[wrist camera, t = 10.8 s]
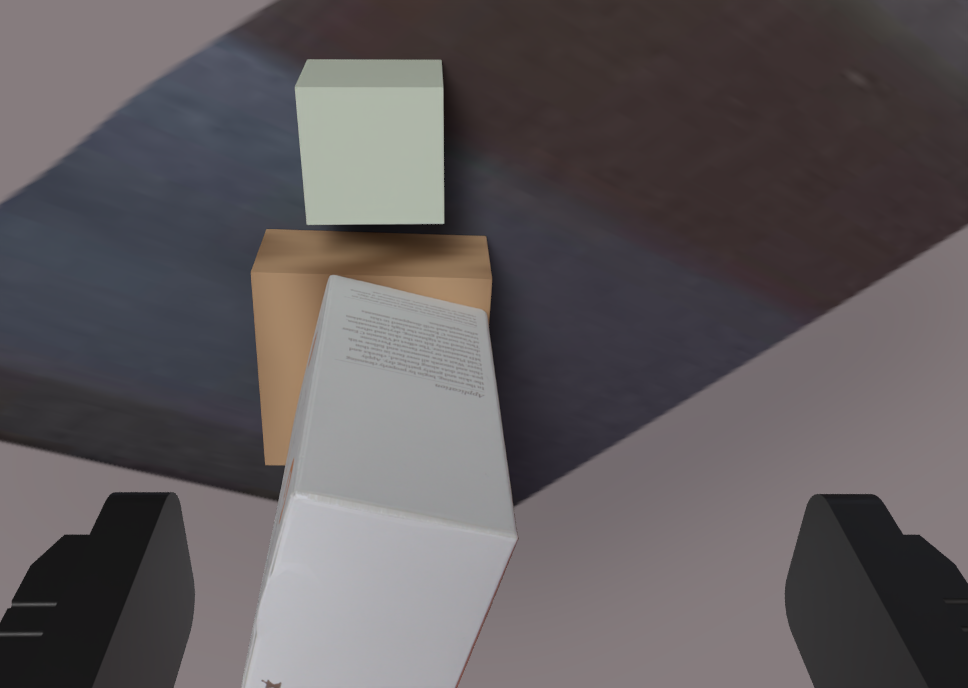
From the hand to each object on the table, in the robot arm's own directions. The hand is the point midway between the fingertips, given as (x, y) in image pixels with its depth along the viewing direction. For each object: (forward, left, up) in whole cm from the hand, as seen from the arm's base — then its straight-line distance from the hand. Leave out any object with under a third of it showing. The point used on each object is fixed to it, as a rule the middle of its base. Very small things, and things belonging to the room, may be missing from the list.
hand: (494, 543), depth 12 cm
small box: (+2, +12, -23) cm, 26 cm away
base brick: (+3, +12, -26) cm, 29 cm away
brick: (+3, +3, -27) cm, 27 cm away
